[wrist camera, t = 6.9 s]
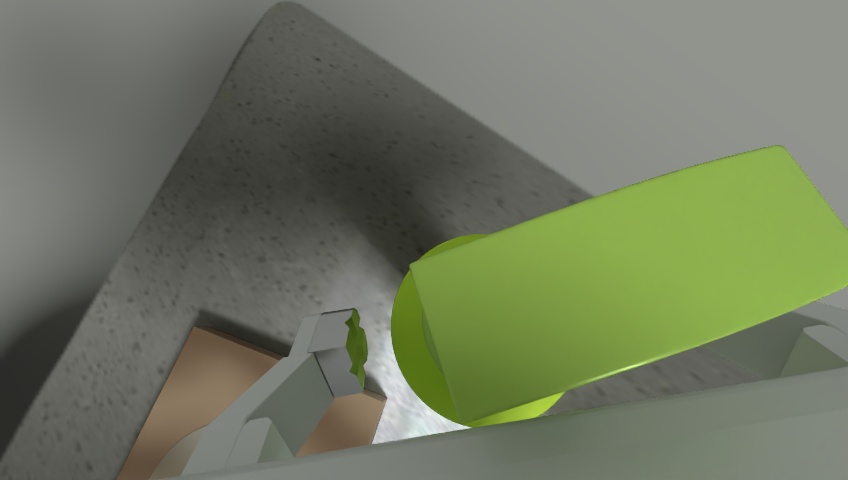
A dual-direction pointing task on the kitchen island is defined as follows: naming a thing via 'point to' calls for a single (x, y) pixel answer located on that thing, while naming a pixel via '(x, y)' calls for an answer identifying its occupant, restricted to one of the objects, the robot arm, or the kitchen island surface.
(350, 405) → the brown flat wooden block
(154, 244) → the kitchen island surface
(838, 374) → the robot arm
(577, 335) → the soap dispenser
